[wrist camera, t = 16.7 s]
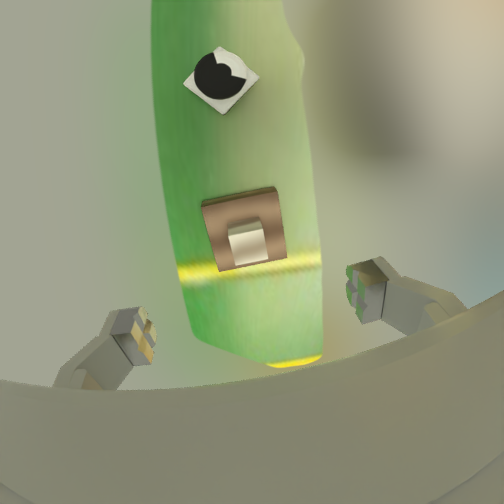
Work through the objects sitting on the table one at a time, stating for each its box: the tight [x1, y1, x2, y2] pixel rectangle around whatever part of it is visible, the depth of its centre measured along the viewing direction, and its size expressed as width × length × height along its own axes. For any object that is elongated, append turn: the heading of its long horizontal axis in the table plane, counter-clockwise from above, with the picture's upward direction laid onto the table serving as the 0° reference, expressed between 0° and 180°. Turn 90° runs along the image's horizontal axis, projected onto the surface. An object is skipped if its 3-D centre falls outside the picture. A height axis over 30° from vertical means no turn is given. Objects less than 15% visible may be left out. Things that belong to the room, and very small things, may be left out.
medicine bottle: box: [183, 47, 259, 115], centre depth 30 cm, size 7×7×12 cm
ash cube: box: [228, 217, 268, 266], centre depth 42 cm, size 5×5×5 cm
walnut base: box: [201, 187, 287, 272], centre depth 46 cm, size 12×12×3 cm
